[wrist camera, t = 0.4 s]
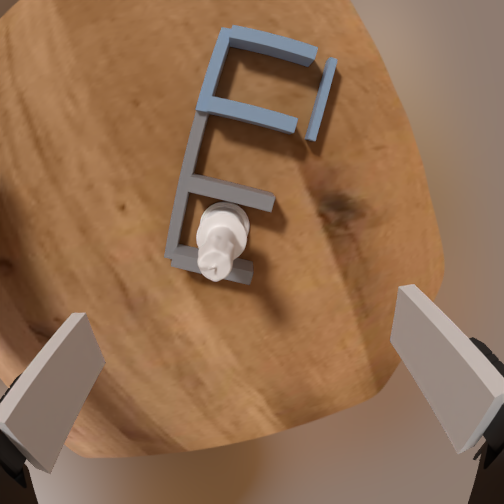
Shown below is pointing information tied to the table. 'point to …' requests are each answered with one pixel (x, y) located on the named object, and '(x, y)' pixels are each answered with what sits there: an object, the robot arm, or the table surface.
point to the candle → (221, 239)
